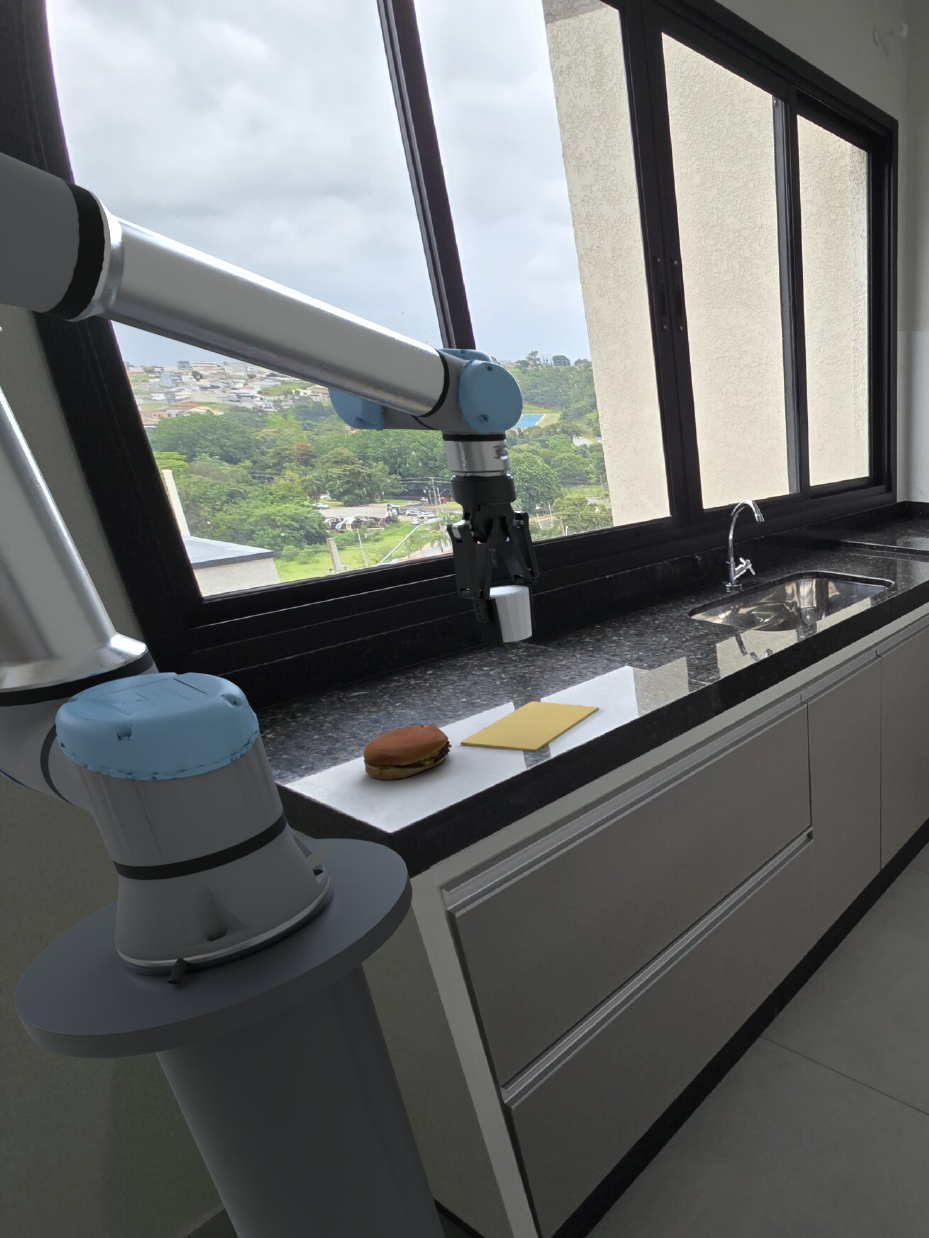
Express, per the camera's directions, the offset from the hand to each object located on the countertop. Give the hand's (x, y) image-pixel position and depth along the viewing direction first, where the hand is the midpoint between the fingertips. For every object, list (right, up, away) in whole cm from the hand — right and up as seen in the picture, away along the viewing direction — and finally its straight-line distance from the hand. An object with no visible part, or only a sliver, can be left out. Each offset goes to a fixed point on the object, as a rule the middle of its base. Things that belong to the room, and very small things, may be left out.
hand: (510, 634), depth 109 cm
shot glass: (0, 0, 0) cm, 0 cm away
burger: (-9, -18, -8) cm, 22 cm away
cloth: (+1, -14, +4) cm, 14 cm away
